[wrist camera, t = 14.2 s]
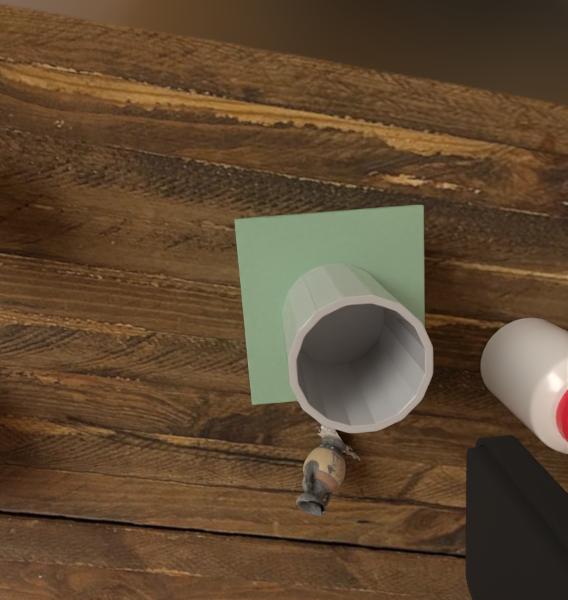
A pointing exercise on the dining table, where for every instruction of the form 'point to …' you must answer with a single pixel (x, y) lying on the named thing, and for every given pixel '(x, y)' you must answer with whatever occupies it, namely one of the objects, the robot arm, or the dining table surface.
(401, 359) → the cup
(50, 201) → the dining table surface
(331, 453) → the vase
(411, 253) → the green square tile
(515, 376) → the pill bottle
